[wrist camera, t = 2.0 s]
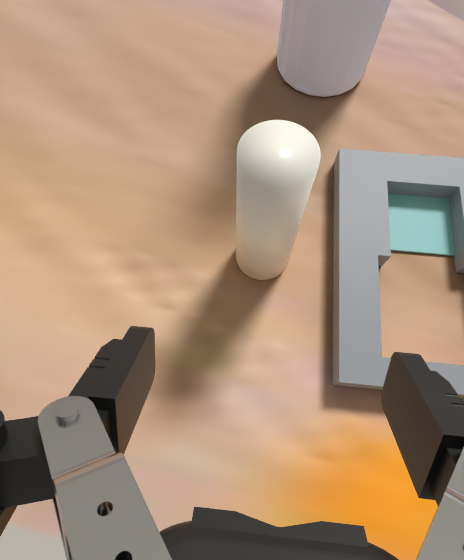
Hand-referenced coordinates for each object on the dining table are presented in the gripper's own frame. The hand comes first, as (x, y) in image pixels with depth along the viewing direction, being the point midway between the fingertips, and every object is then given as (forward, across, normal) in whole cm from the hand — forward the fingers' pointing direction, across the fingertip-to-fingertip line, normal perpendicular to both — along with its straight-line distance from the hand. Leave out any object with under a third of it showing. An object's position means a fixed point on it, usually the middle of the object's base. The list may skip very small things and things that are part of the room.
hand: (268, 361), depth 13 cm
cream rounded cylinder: (+20, 0, +4) cm, 20 cm away
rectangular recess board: (+20, -13, +4) cm, 24 cm away
